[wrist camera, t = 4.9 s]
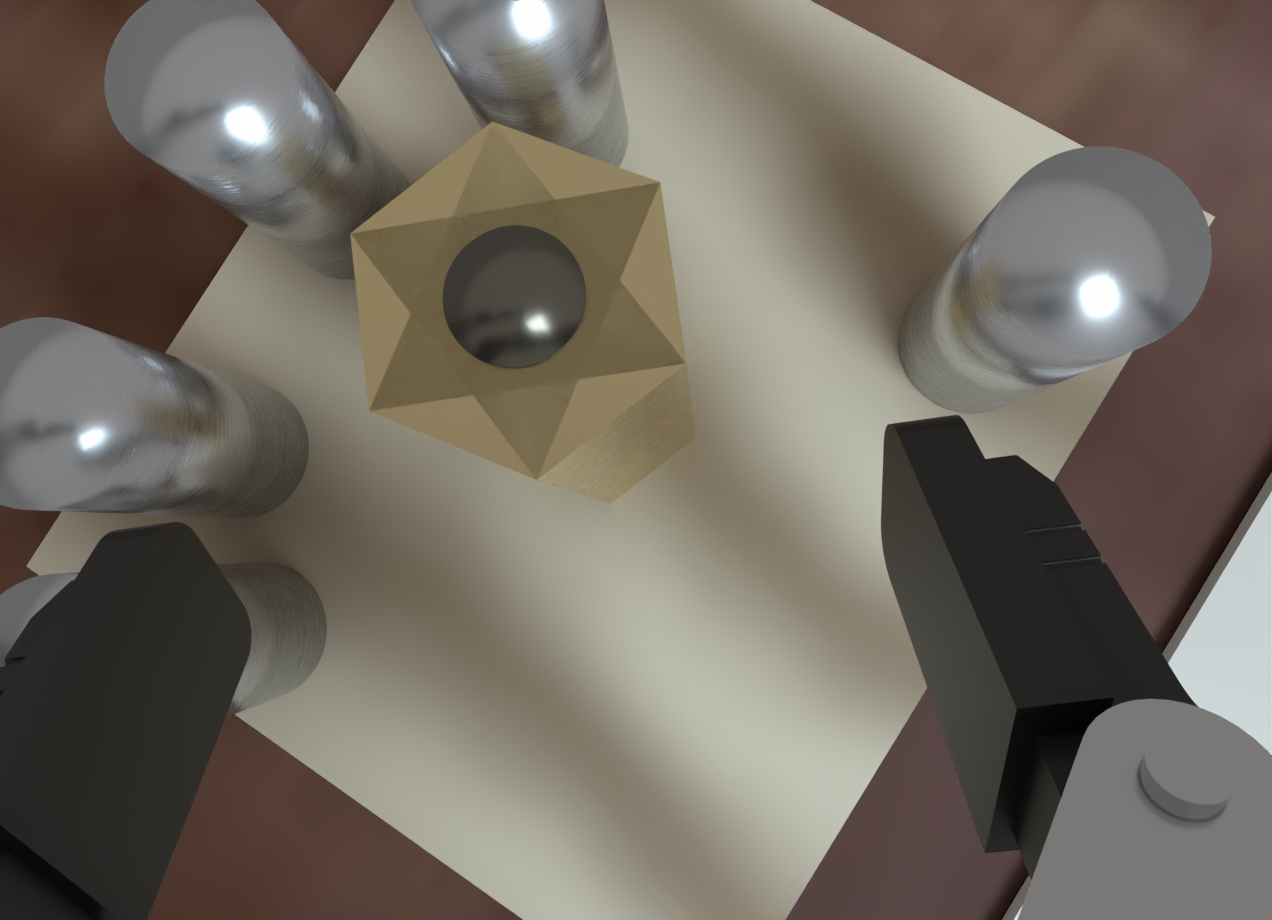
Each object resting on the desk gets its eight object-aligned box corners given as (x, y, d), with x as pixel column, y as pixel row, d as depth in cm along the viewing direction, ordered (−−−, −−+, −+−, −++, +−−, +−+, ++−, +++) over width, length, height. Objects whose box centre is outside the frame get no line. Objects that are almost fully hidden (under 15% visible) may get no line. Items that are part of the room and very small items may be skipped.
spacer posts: (656, 995, 17) (629, 1234, 12) (48, 566, 19) (-244, 579, 13) (1072, 319, 18) (1253, 212, 12) (440, -36, 20) (325, -281, 14)
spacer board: (706, 1021, 18) (706, 1049, 17) (59, 564, 20) (26, 566, 19) (1188, 233, 19) (1214, 216, 18) (511, -132, 21) (502, -165, 20)
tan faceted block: (567, 537, 18) (461, 538, 10) (459, 392, 19) (277, 288, 11) (738, 404, 18) (761, 303, 10) (624, 263, 19) (563, 63, 11)
